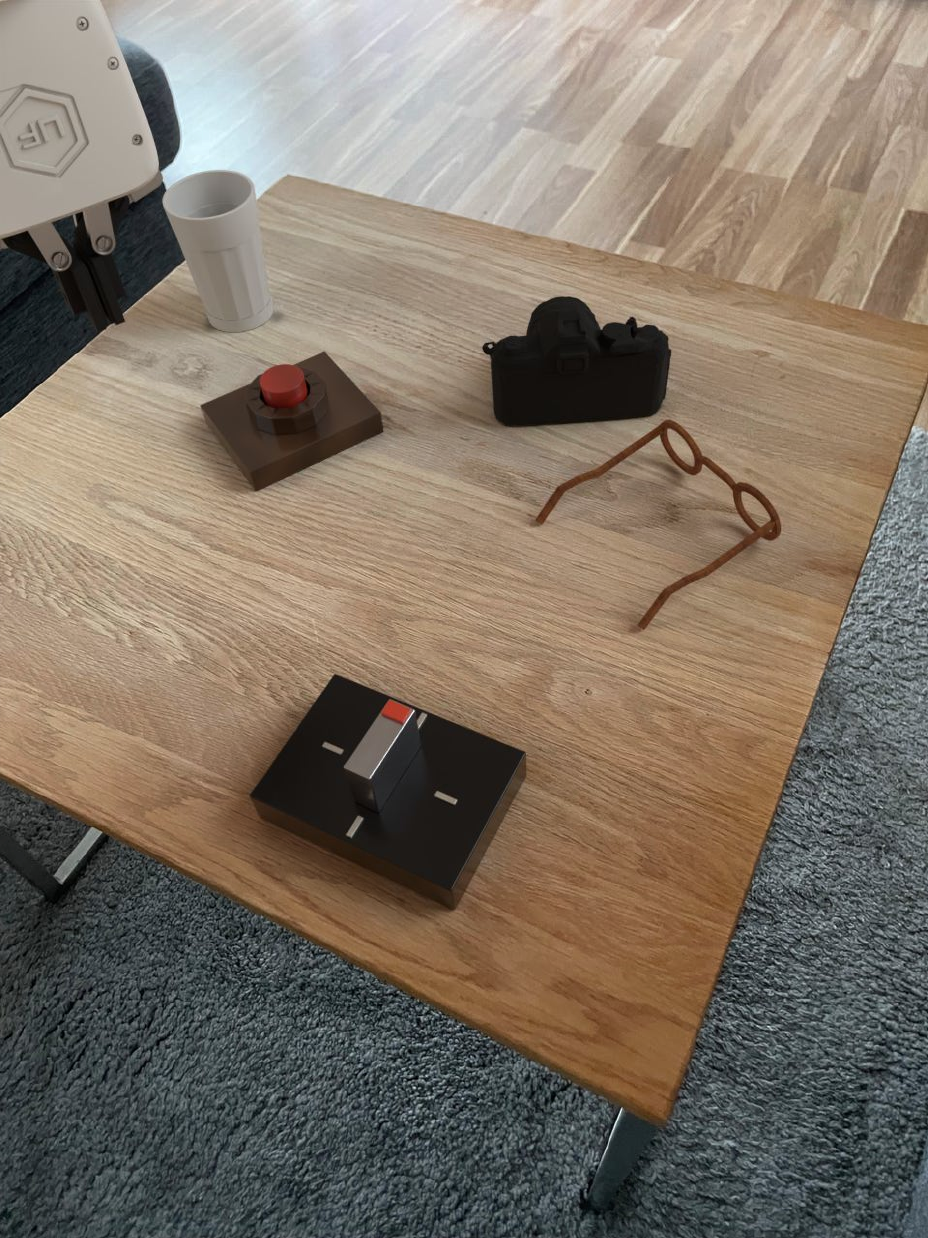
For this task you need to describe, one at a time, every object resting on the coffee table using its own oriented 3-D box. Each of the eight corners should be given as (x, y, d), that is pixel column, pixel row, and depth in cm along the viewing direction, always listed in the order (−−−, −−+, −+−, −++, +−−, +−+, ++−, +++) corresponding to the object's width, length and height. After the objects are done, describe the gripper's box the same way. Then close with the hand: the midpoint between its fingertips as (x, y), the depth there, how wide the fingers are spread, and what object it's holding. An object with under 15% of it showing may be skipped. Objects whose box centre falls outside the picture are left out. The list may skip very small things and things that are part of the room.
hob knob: (379, 813, 61) (369, 777, 57) (353, 801, 61) (342, 765, 58) (421, 745, 63) (415, 707, 60) (397, 734, 64) (388, 696, 61)
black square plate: (259, 818, 64) (248, 794, 62) (341, 697, 70) (334, 671, 67) (455, 911, 60) (451, 890, 57) (527, 775, 65) (526, 750, 63)
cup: (248, 276, 101) (218, 159, 91) (299, 308, 97) (273, 190, 88) (182, 314, 98) (144, 197, 88) (232, 348, 94) (197, 230, 84)
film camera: (652, 348, 90) (662, 258, 83) (669, 421, 85) (681, 331, 77) (482, 359, 91) (477, 270, 84) (486, 433, 85) (482, 344, 78)
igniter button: (276, 415, 82) (271, 398, 81) (256, 391, 84) (252, 375, 83) (315, 397, 84) (311, 380, 82) (295, 375, 85) (291, 358, 84)
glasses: (779, 551, 75) (792, 504, 71) (640, 633, 71) (645, 588, 68) (664, 452, 82) (670, 404, 78) (532, 522, 79) (531, 475, 75)
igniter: (256, 491, 82) (244, 455, 79) (206, 424, 88) (193, 388, 85) (384, 431, 86) (378, 394, 83) (328, 370, 91) (321, 333, 88)
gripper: (-217, 18, 38) (-10, 404, 52) (158, -83, 42) (253, 298, 57) (-251, -42, 42) (-50, 332, 56) (94, -129, 46) (198, 238, 61)
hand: (102, 314), depth 56 cm, fingers closed
